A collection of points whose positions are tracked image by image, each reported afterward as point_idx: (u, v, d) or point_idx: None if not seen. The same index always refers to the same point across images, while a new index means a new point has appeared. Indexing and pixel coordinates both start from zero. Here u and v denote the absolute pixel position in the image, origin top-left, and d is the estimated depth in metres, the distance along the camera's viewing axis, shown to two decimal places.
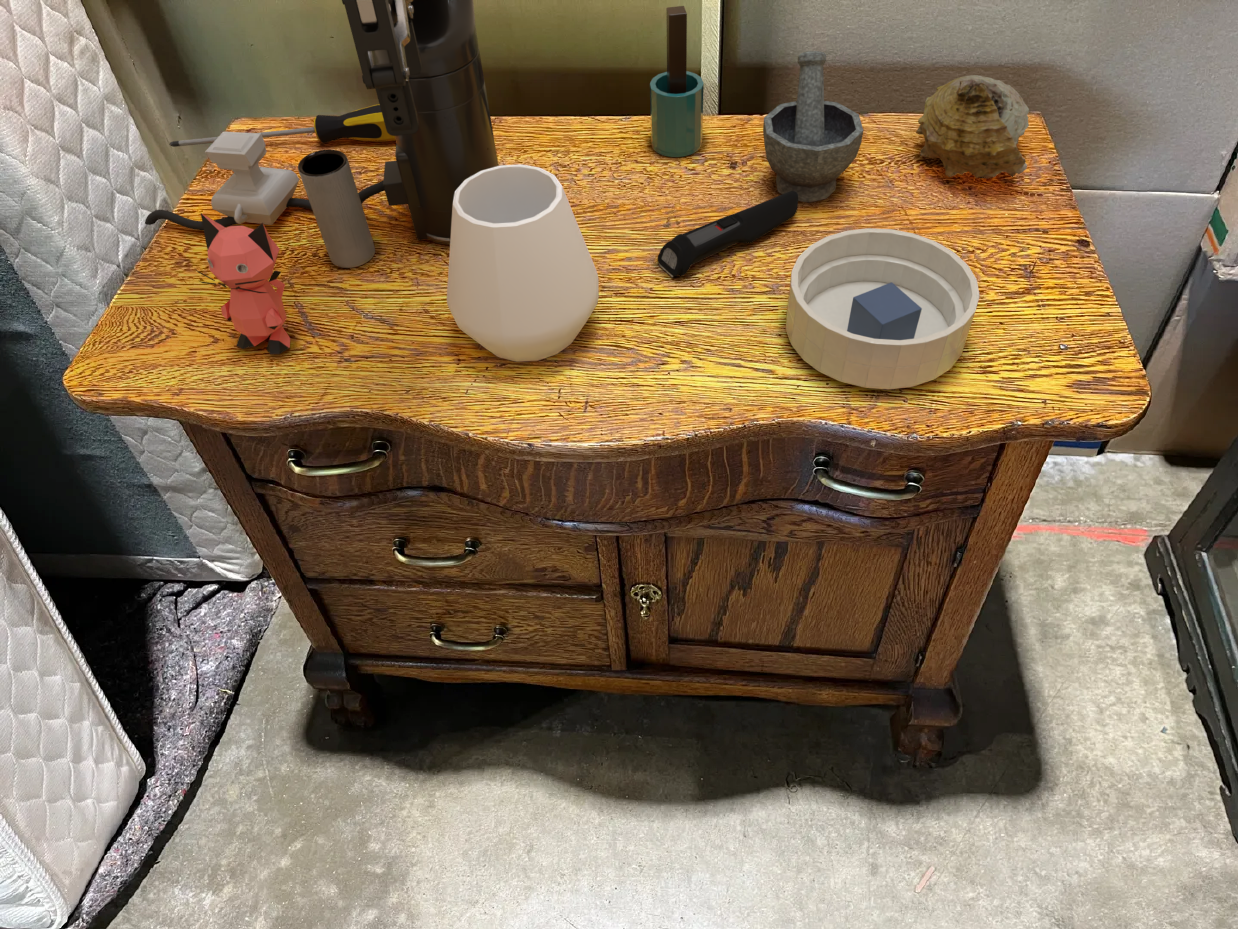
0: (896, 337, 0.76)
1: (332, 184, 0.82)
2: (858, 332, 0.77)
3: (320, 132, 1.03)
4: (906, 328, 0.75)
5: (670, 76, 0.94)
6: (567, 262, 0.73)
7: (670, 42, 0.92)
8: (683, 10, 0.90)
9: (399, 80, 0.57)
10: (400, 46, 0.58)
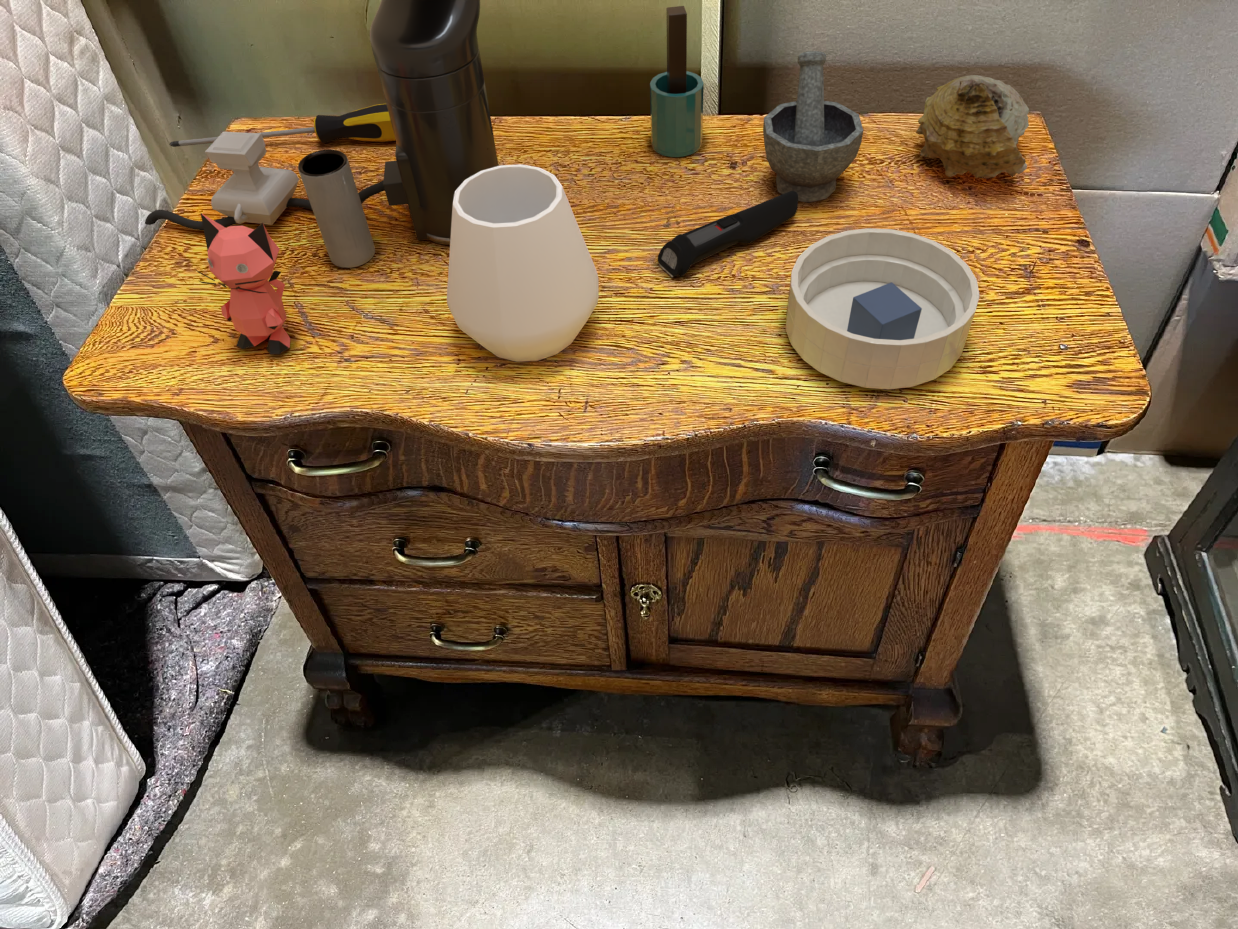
0: (896, 337, 0.76)
1: (332, 183, 0.82)
2: (858, 332, 0.77)
3: (320, 132, 1.03)
4: (906, 328, 0.75)
5: (670, 76, 0.94)
6: (567, 262, 0.73)
7: (670, 42, 0.92)
8: (683, 10, 0.90)
9: None
10: None
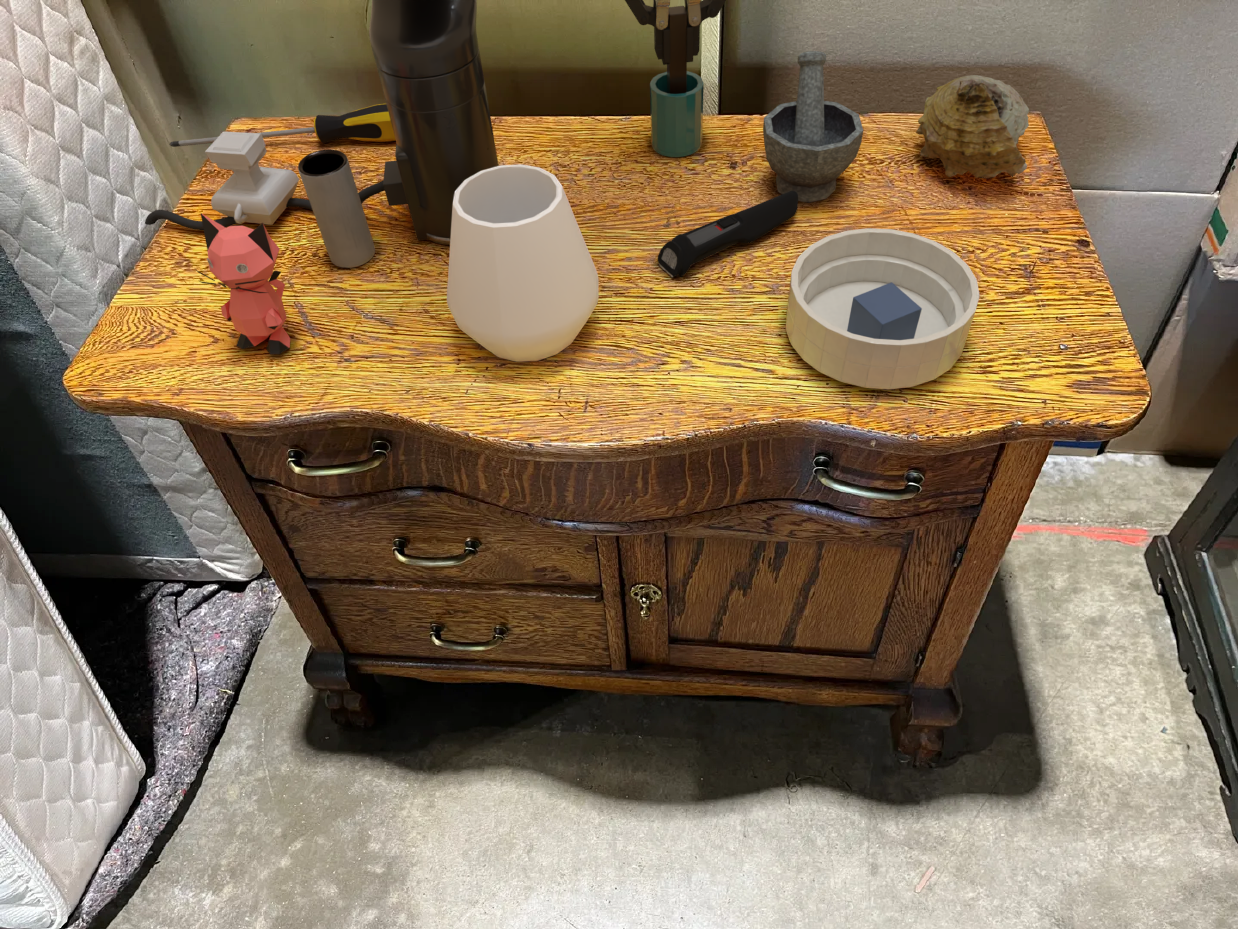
0: (896, 337, 0.76)
1: (332, 183, 0.82)
2: (858, 332, 0.77)
3: (320, 132, 1.03)
4: (906, 328, 0.75)
5: (670, 76, 0.94)
6: (567, 262, 0.73)
7: (670, 42, 0.92)
8: (683, 10, 0.90)
9: None
10: (656, 8, 0.89)
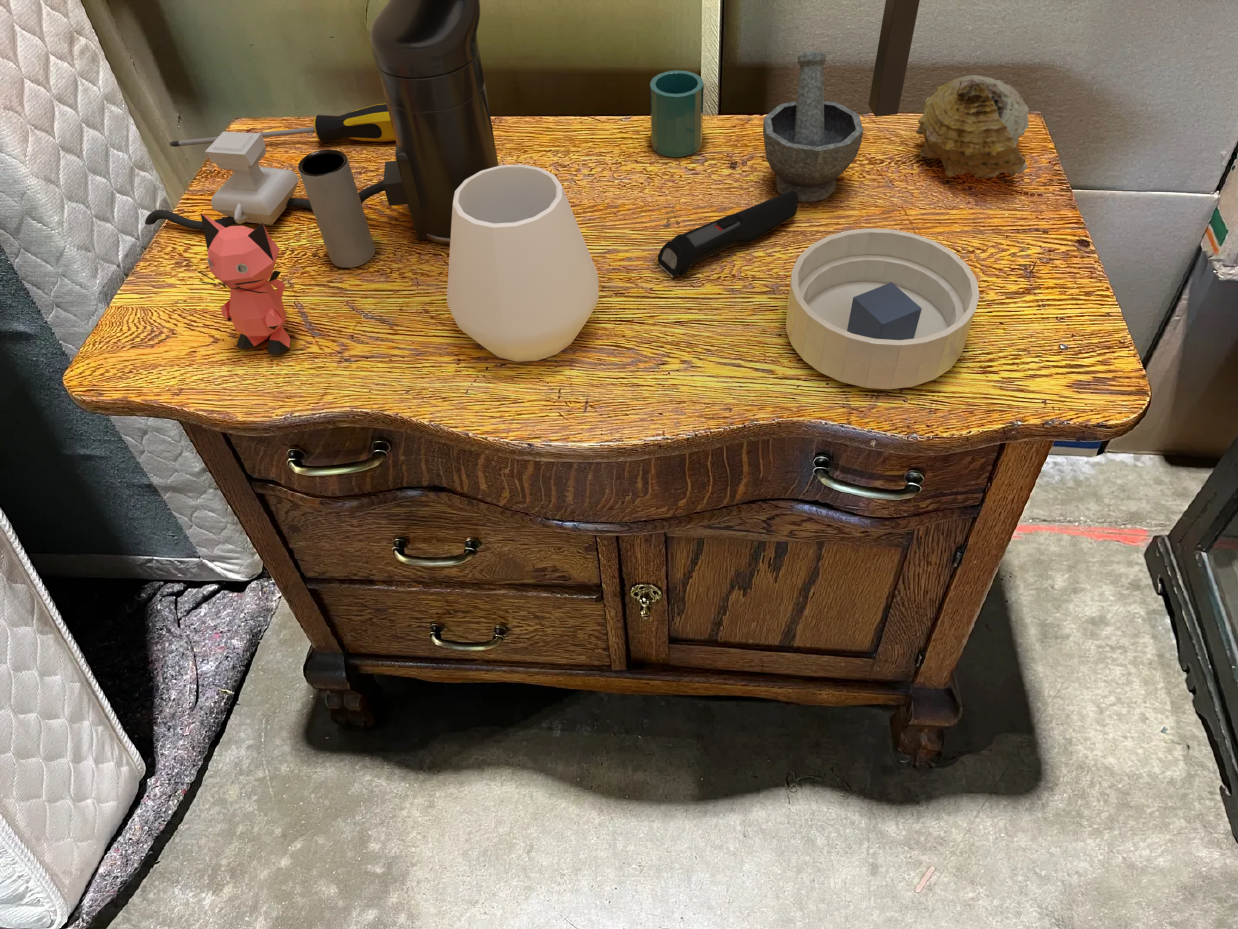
0: (896, 337, 0.76)
1: (332, 183, 0.82)
2: (858, 332, 0.77)
3: (320, 132, 1.03)
4: (906, 328, 0.75)
5: (894, 13, 0.63)
6: (567, 262, 0.73)
7: None
8: None
9: None
10: None
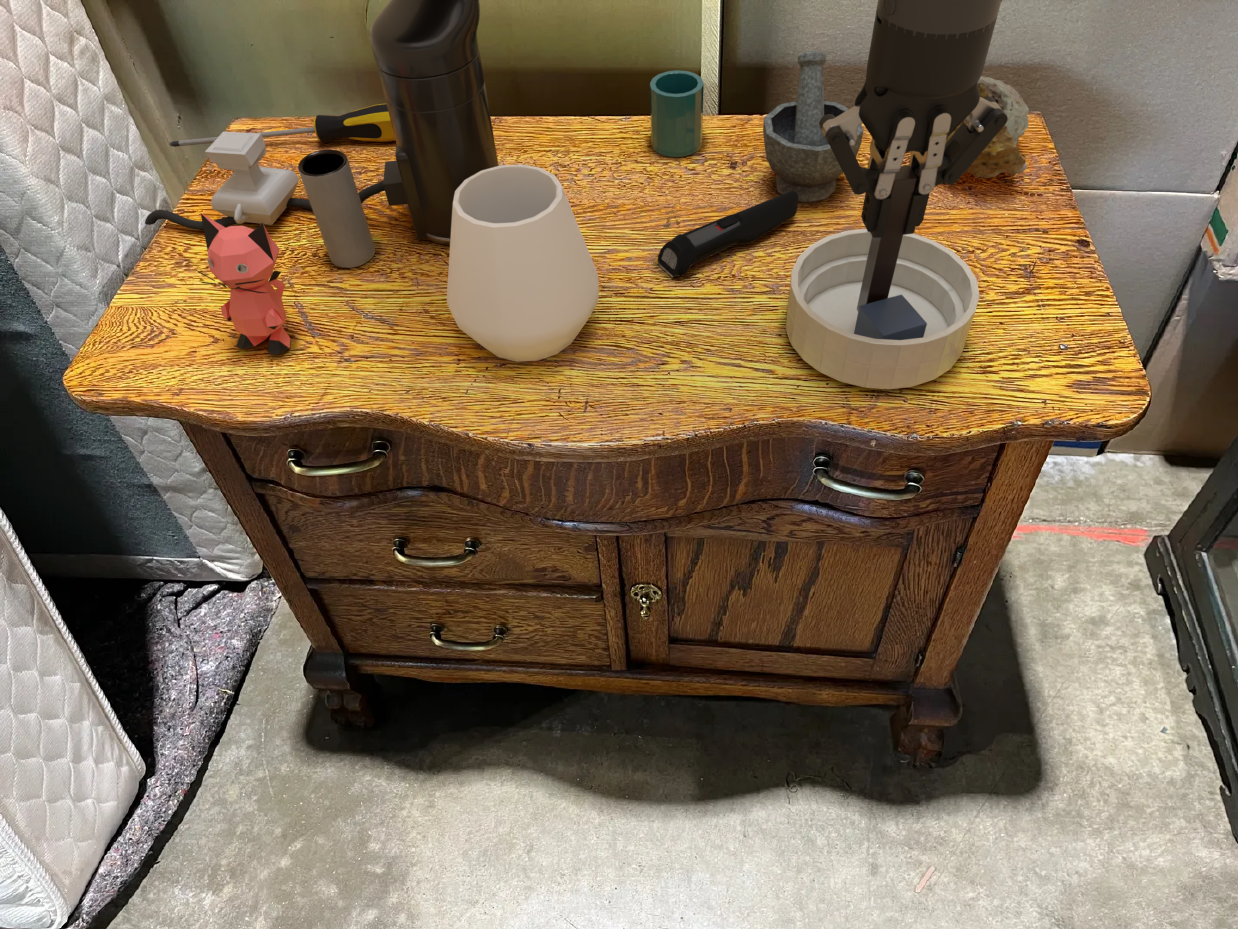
0: None
1: (332, 183, 0.82)
2: None
3: (320, 132, 1.03)
4: None
5: (879, 249, 0.72)
6: (567, 262, 0.73)
7: None
8: (911, 174, 0.67)
9: None
10: (879, 175, 0.66)
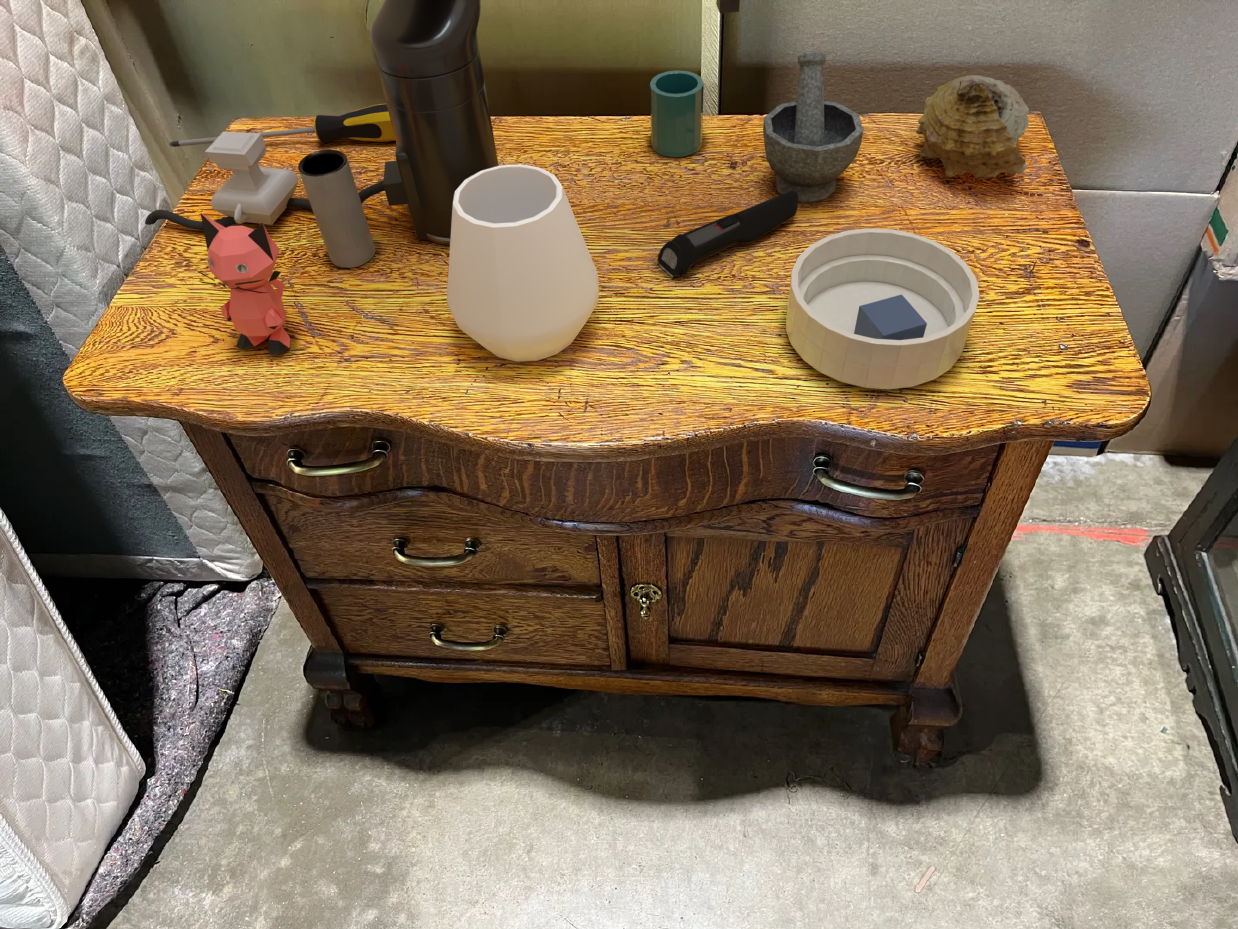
0: None
1: (332, 183, 0.82)
2: None
3: (320, 132, 1.03)
4: None
5: None
6: (567, 262, 0.73)
7: None
8: None
9: None
10: None
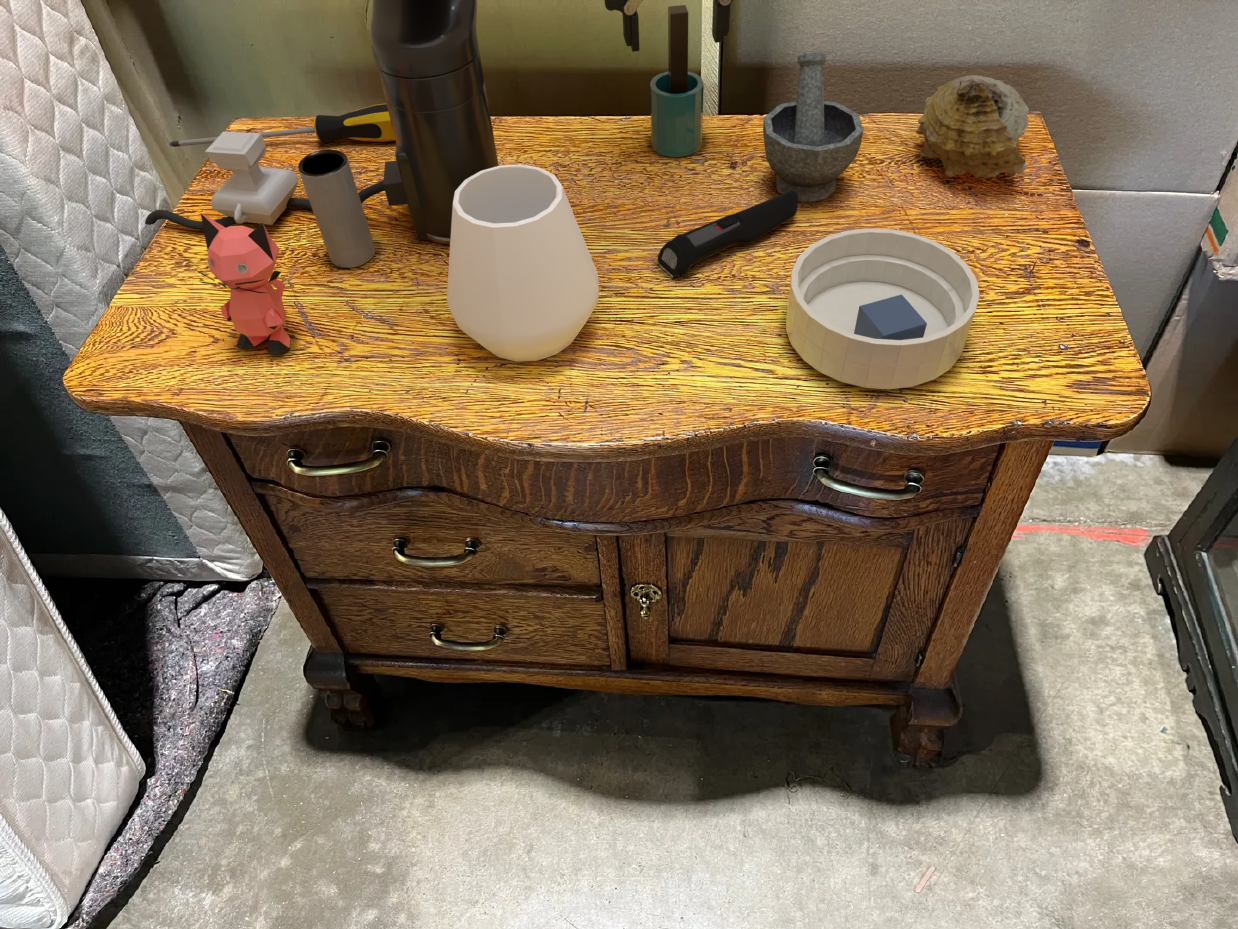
0: None
1: (332, 183, 0.82)
2: None
3: (320, 132, 1.03)
4: None
5: (671, 75, 0.94)
6: (567, 262, 0.73)
7: (671, 41, 0.92)
8: (684, 10, 0.90)
9: (605, 4, 0.88)
10: None
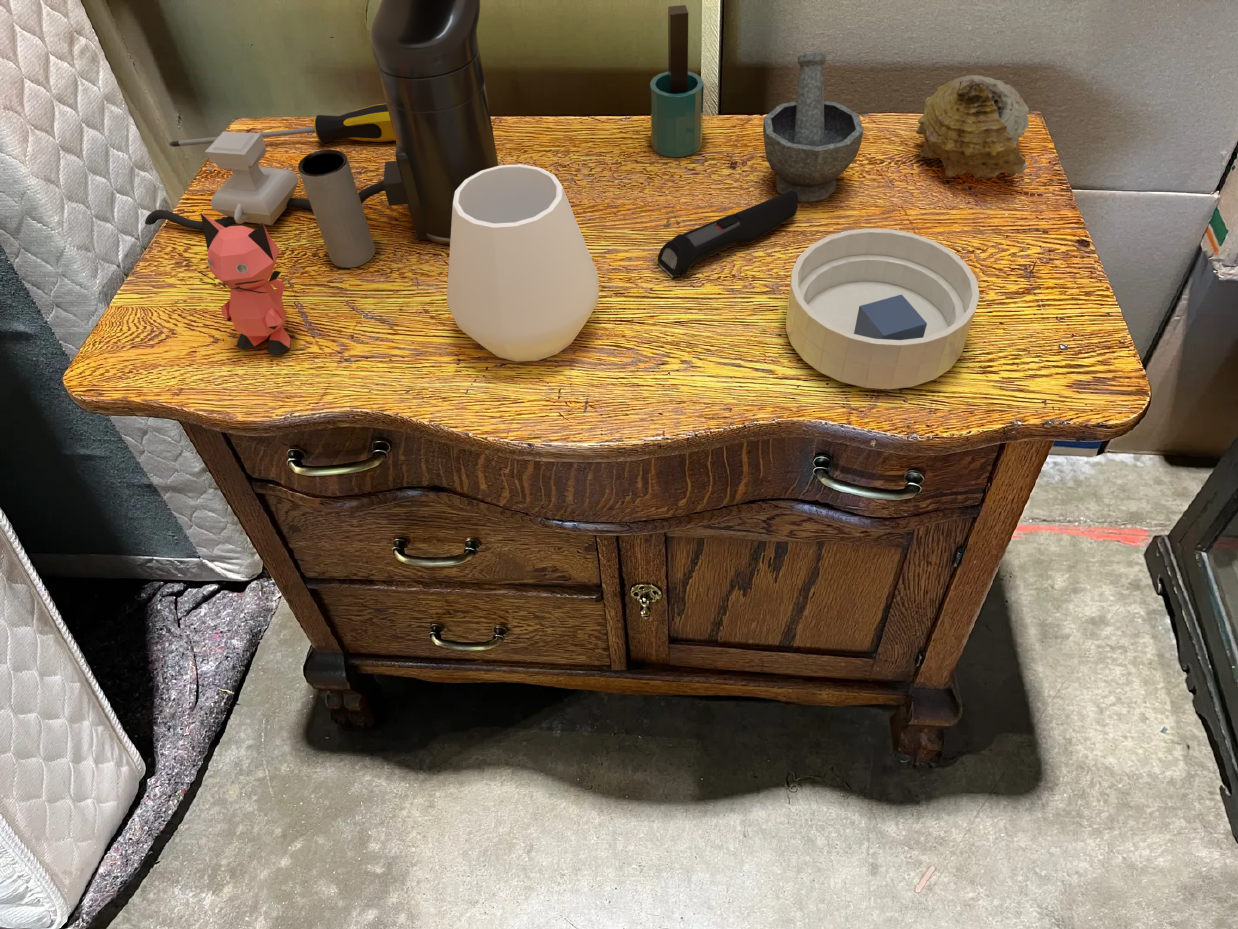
0: None
1: (332, 183, 0.82)
2: None
3: (320, 132, 1.03)
4: None
5: (671, 75, 0.94)
6: (567, 262, 0.73)
7: (671, 41, 0.92)
8: (684, 10, 0.90)
9: None
10: None
